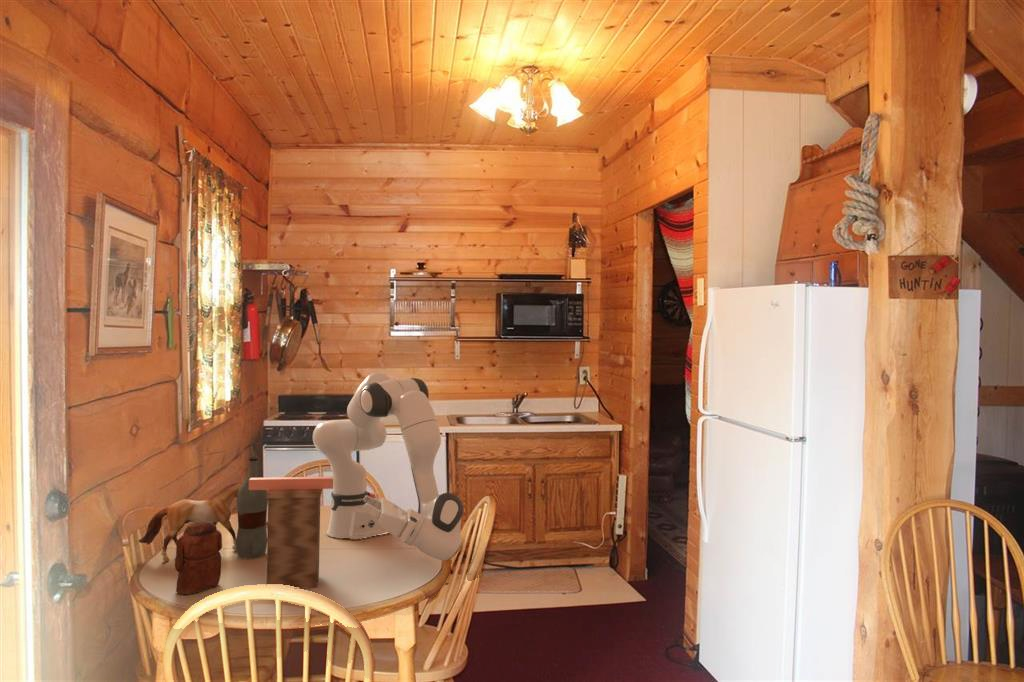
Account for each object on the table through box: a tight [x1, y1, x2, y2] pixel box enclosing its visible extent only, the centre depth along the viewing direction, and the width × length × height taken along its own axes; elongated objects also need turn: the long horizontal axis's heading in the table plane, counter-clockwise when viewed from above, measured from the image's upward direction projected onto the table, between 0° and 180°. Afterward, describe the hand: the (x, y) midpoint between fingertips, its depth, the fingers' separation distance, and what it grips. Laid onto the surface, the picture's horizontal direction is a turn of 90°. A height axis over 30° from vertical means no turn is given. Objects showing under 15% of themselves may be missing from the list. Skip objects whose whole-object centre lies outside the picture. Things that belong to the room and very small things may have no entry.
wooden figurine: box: [174, 520, 223, 595], centre depth 198 cm, size 12×6×18 cm, turn 152°
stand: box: [266, 489, 324, 589], centre depth 204 cm, size 14×10×26 cm
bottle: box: [236, 455, 268, 560], centre depth 228 cm, size 9×9×30 cm
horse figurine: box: [138, 482, 244, 562], centre depth 227 cm, size 31×8×21 cm, turn 123°
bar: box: [249, 476, 333, 490], centre depth 204 cm, size 22×3×3 cm, turn 101°
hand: (364, 501), depth 208 cm, fingers open, 8 cm apart
